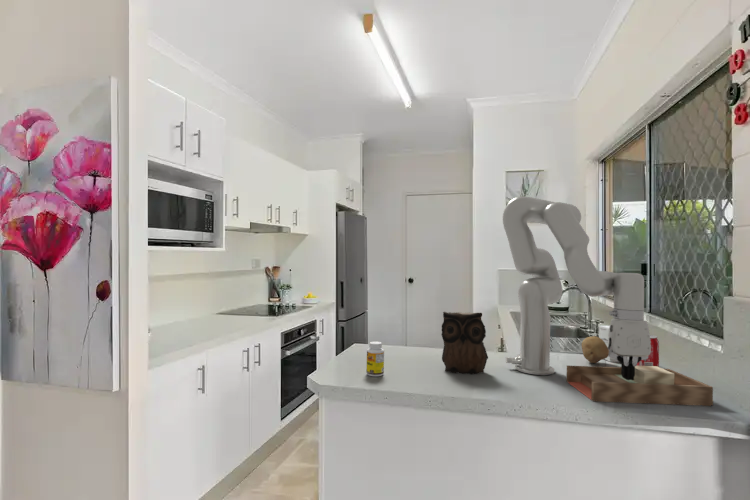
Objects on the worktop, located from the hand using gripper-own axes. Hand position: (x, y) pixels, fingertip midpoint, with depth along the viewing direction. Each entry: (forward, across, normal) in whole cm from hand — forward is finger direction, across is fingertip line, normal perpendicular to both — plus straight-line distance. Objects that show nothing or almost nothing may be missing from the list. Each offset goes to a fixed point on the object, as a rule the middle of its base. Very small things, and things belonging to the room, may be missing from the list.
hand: (627, 378), depth 122 cm
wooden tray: (+4, +1, 0) cm, 4 cm away
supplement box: (+4, +16, +41) cm, 44 cm away
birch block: (+1, +6, 0) cm, 6 cm away
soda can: (+4, +17, +21) cm, 28 cm away
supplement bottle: (+4, -74, +9) cm, 74 cm away
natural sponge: (+4, +6, +34) cm, 35 cm away
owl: (+4, -44, +19) cm, 48 cm away
